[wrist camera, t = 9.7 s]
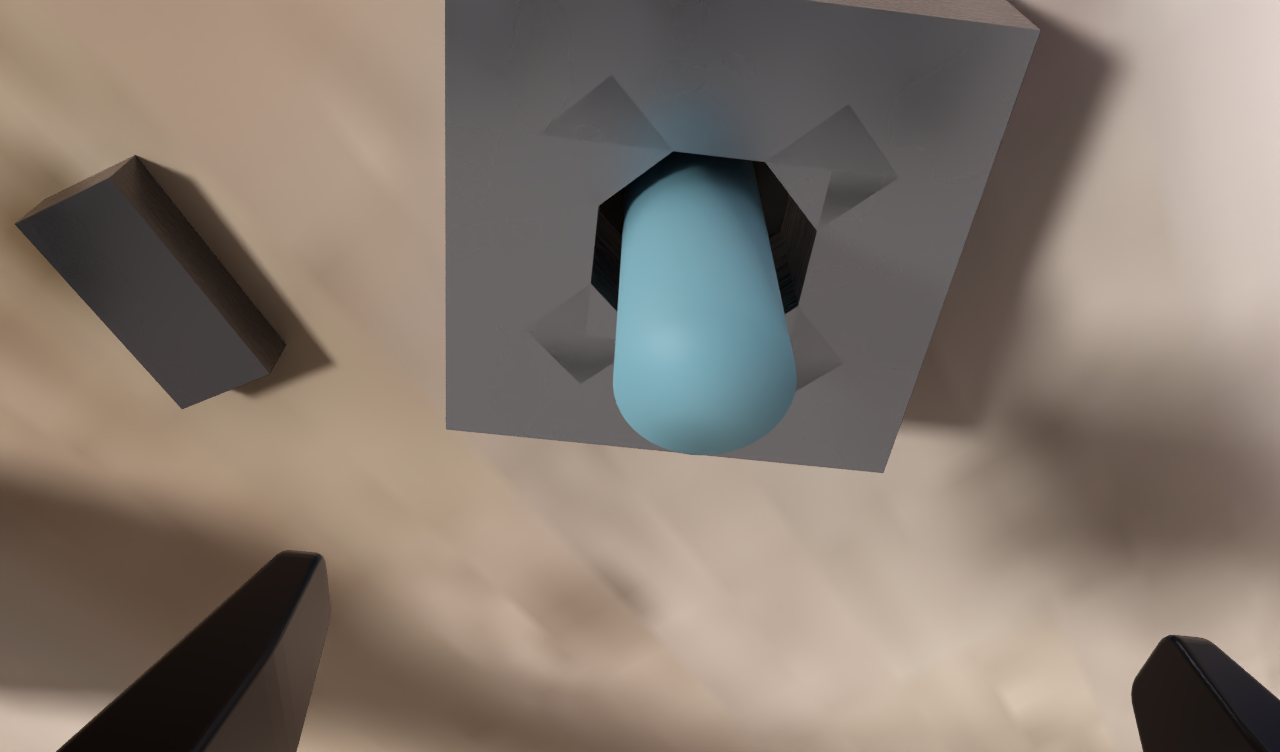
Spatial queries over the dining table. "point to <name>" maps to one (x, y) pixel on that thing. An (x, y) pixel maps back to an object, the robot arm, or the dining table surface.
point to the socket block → (725, 127)
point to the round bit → (700, 309)
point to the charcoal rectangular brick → (154, 283)
